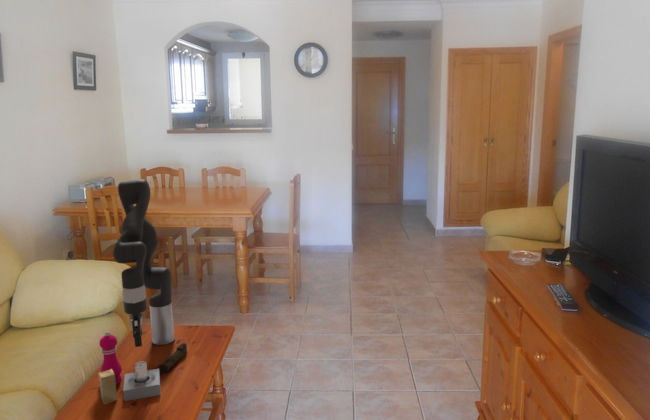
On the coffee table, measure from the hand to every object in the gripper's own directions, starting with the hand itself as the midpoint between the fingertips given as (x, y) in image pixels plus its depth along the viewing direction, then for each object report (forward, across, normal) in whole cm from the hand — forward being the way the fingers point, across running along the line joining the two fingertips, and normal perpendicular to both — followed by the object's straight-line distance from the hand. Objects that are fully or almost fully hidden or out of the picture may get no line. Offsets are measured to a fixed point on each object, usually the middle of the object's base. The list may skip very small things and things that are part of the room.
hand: (138, 340), depth 178 cm
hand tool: (+19, -17, +11) cm, 28 cm away
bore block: (+19, 0, 0) cm, 19 cm away
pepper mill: (+19, -9, -11) cm, 24 cm away
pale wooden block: (+19, +3, -11) cm, 22 cm away
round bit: (+19, 0, 0) cm, 19 cm away
